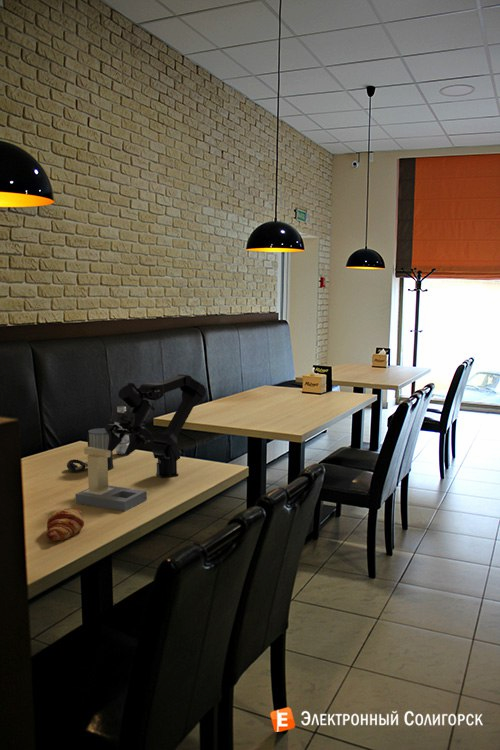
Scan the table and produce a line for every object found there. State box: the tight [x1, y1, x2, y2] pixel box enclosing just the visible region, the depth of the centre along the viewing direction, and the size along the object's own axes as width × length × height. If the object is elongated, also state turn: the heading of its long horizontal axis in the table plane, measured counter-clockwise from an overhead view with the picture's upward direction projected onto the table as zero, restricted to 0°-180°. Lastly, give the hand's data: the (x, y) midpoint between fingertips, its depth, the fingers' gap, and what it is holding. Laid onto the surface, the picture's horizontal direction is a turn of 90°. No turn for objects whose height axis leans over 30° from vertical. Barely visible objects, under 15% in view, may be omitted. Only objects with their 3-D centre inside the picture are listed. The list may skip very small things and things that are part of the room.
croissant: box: [46, 508, 85, 542], centre depth 183 cm, size 21×10×8 cm, turn 176°
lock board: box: [75, 484, 148, 512], centre depth 208 cm, size 19×12×3 cm, turn 65°
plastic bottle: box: [114, 405, 130, 456], centre depth 268 cm, size 6×7×20 cm
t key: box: [83, 446, 111, 493], centre depth 210 cm, size 4×10×14 cm, turn 57°
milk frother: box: [66, 427, 114, 472], centre depth 246 cm, size 14×16×15 cm
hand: (117, 454), depth 216 cm, fingers open, 9 cm apart
